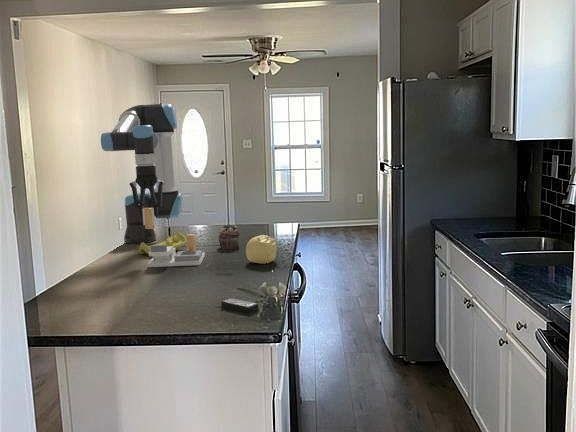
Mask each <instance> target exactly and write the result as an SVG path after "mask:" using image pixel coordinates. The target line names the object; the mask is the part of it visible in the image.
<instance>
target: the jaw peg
mask: <svg viewBox="0 0 576 432" xmlns="http://www.w3.org/2000/svg"><path fill="white" fill-rule="evenodd" d="M144 211H145V229H155V225H153V223H152V210H151V208H145V209H144Z"/></svg>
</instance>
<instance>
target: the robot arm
mask: <svg viewBox="0 0 576 432" xmlns="http://www.w3.org/2000/svg"><path fill="white" fill-rule="evenodd" d="M177 122H178V121H177V115H176V113H175V109H174V107H173V105H172V104H170V103H152V104H138V105H134V106H131V107H130V108H128V109H125V110H124V111H123V112H122V113H121V114H120V115H119V118H118V122H117V124H116V125H115V126H114V128H113V129H112V131H111V132H109V131H106V132H102V133H101V135H100V145H101V149H102V150H103V151H105V152H123V151H134V163H135V165H136V167H135V175H136V177H135V180H134V181H132V182H131V181H130V183H129V186H130V188H131V193H132V194H128V195H127V196H125V198H124V207H125V208H124V210H125V218H126V219H125V220H126V221H125V222H126V229H125V232H124V236H123V241H124V243H125V244H136V245H137V244H141V243H142V242H143V243H145V244H146V243H152V242H154V241H156V240H157V234H156V231H155V228H153V229H145V211H144V209H145V208H151V210H152V223H153V225H154V226H155V225H157V219H174V218H178V217H179V216H180V215H181V211H182V206H183V205H182V201H183V195H182V193H181V192H179V189H178V188H177V187H176V186H175V174H174V173H175V171H174V158H173V142H172V136H173V135H174V133H175V130H176V129H177V128H178V123H177ZM137 186H138V187H139V188H140V192H138V187H137ZM155 186H156V187H155ZM147 190H148V191H147Z"/></svg>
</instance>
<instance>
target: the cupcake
mask: <svg viewBox="0 0 576 432" xmlns="http://www.w3.org/2000/svg"><path fill="white" fill-rule="evenodd" d="M237 227H238V226H237V225H233V224H232V225H229V224H227V225H223V226H222V227H221V228H220V232H219V235H218V237H217V238H218V242H219V246H220V247H219V248H220V249H222V250H234V249H237V248H239V246H240V244H239V243H240V238H241V235H240V231H239V230H238V228H237Z"/></svg>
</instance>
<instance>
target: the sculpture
mask: <svg viewBox="0 0 576 432" xmlns="http://www.w3.org/2000/svg"><path fill="white" fill-rule="evenodd" d="M277 250H278V245H277V241H276V239H275V238H273V237H270V236H269V235H266V234H265V235H264V234H260V235H257V236H254V237H251V238H250V239H249V241H248V242H247V243H246V248H245V254H246V258H247V259H248V261H249V262H250V263H253V264H254V263H255V264H261V265H262V264H264V265H265V264H266V263H267V264H269V263H272V262H273V261H274V260H275V259H276V257H277V256H276V255H277ZM267 264H266V265H267Z"/></svg>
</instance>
